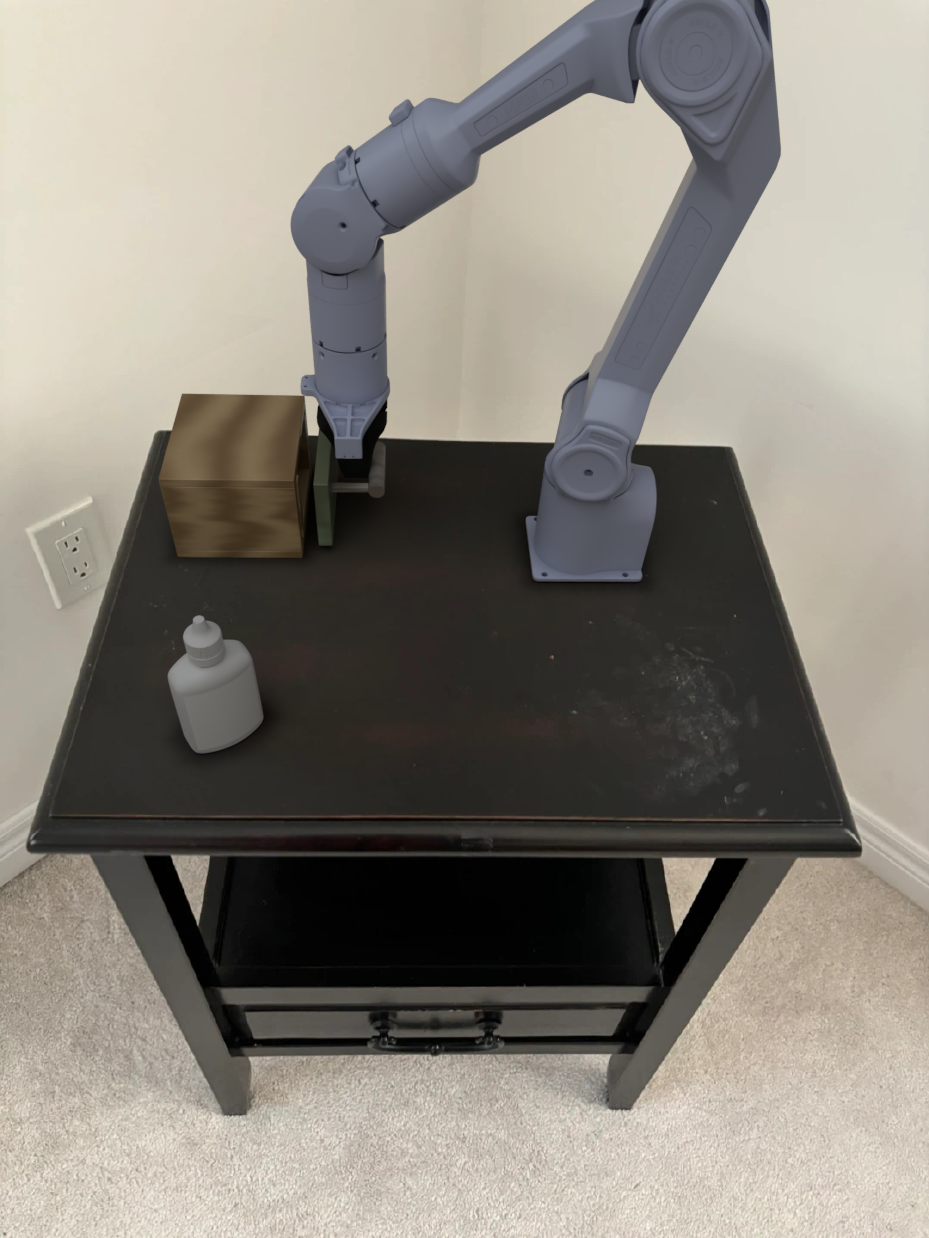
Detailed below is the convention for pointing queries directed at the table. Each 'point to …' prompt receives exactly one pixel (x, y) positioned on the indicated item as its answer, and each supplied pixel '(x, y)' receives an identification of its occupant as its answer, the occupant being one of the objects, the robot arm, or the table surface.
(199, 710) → the eye dropper bottle
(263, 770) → the table surface
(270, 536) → the cabinet
